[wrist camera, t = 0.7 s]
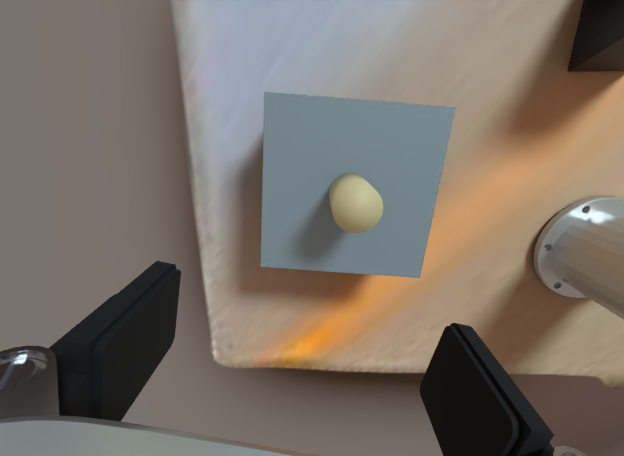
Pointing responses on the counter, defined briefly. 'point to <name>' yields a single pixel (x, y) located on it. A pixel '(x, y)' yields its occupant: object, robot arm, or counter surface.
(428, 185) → the lid
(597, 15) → the phone stand
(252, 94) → the counter surface
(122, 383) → the robot arm
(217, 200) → the counter surface
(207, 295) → the counter surface
